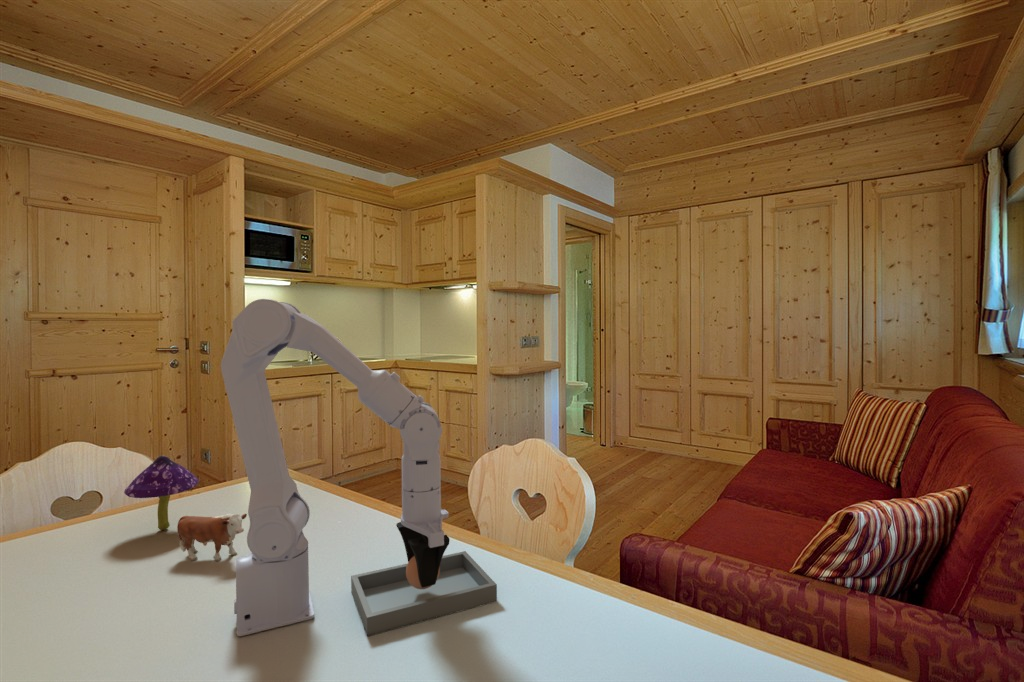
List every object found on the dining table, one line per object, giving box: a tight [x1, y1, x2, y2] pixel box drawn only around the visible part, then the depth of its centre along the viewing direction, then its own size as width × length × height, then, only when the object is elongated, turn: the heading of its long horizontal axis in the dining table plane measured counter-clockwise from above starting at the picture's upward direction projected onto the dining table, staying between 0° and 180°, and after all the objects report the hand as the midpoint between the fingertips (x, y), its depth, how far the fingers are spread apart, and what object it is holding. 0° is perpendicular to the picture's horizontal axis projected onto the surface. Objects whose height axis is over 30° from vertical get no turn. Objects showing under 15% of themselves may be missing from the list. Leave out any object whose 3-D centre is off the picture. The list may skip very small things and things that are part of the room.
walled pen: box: [350, 550, 498, 637], centre depth 76 cm, size 19×13×2 cm
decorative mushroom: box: [123, 455, 200, 531], centre depth 102 cm, size 12×12×15 cm
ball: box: [406, 556, 440, 589], centre depth 76 cm, size 5×5×5 cm
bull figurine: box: [176, 513, 248, 562], centre depth 90 cm, size 4×13×8 cm, turn 78°
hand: (422, 576), depth 76 cm, fingers closed on ball, 5 cm apart
